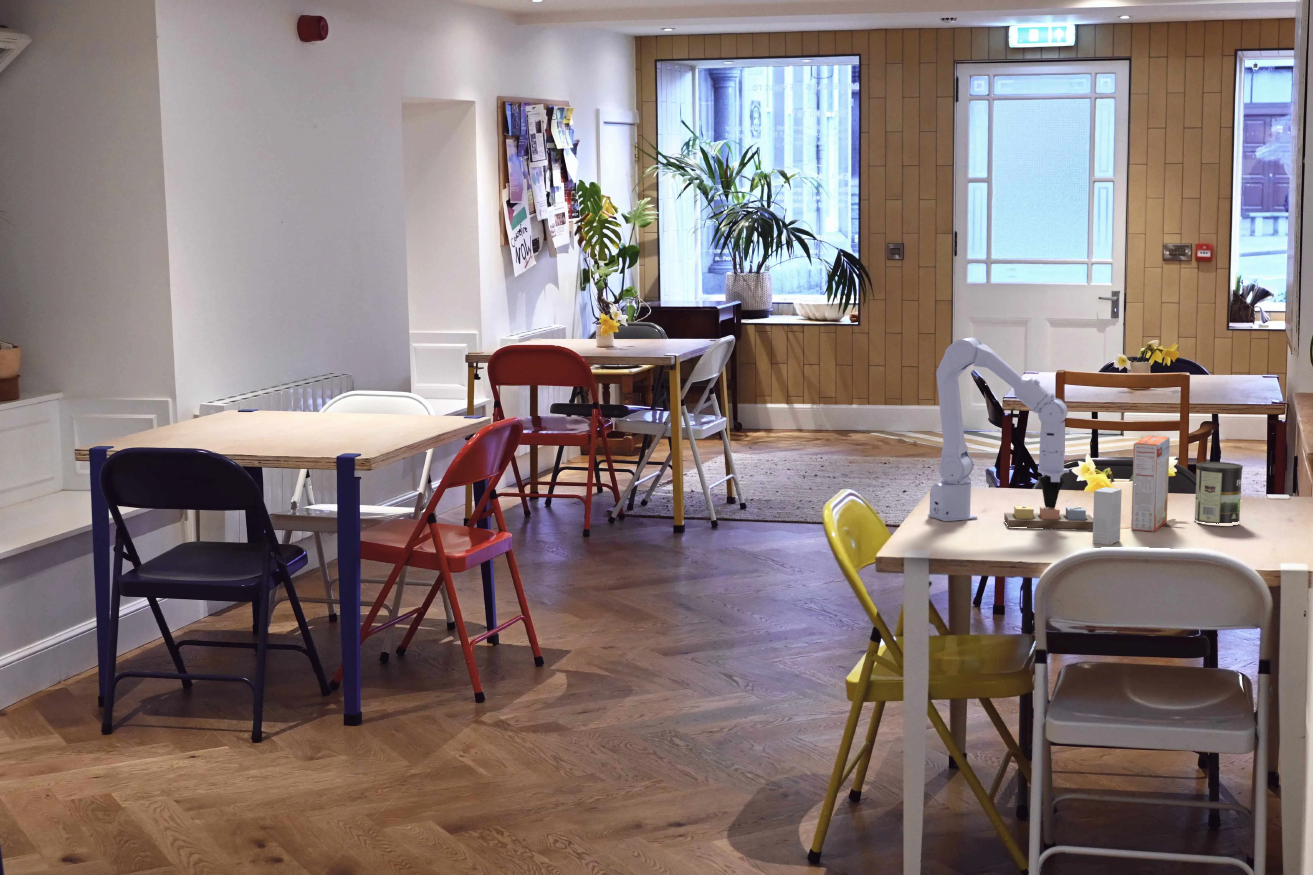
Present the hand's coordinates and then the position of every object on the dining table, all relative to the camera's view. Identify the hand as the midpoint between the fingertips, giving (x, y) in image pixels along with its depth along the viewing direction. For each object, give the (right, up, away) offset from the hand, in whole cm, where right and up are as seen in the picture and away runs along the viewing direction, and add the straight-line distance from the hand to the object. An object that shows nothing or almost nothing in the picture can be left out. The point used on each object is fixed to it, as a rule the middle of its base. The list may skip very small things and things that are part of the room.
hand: (1049, 507), depth 331 cm
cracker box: (+23, -5, -1) cm, 24 cm away
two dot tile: (0, -4, 0) cm, 4 cm away
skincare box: (+8, -7, -18) cm, 21 cm away
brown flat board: (0, -4, +1) cm, 4 cm away
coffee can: (+41, -4, +3) cm, 41 cm away
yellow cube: (-6, -4, +1) cm, 7 cm away
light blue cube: (+6, -4, 0) cm, 7 cm away
